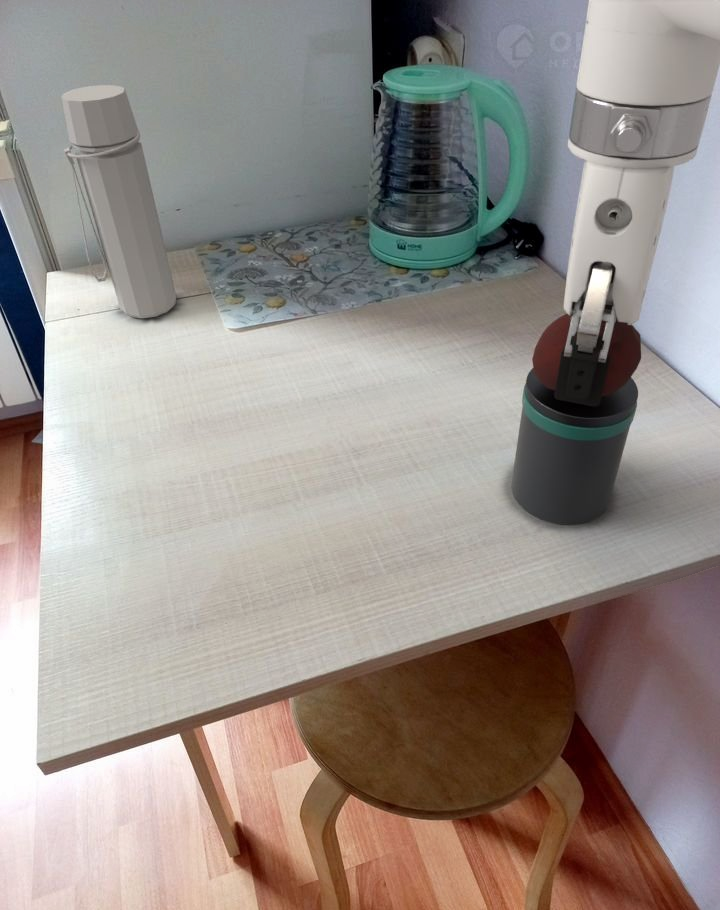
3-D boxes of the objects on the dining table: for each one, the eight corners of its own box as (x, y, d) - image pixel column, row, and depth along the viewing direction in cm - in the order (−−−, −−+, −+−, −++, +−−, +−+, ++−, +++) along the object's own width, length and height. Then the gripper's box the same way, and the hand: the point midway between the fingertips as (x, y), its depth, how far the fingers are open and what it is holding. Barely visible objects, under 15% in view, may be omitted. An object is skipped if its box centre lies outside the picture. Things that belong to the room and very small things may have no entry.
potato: (657, 402, 53) (678, 331, 49) (558, 426, 51) (571, 355, 47) (602, 352, 58) (616, 285, 54) (511, 372, 56) (519, 305, 52)
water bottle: (170, 287, 94) (122, 80, 78) (185, 313, 88) (137, 96, 72) (100, 304, 91) (34, 92, 75) (111, 332, 86) (43, 110, 69)
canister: (616, 470, 64) (644, 365, 56) (604, 536, 58) (634, 429, 50) (521, 449, 66) (536, 347, 59) (500, 511, 60) (514, 405, 53)
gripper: (698, 179, 35) (624, 448, 46) (706, 90, 47) (647, 321, 59) (545, 165, 37) (511, 425, 49) (591, 83, 49) (555, 307, 61)
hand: (585, 367), depth 54 cm, fingers closed on potato, 8 cm apart
